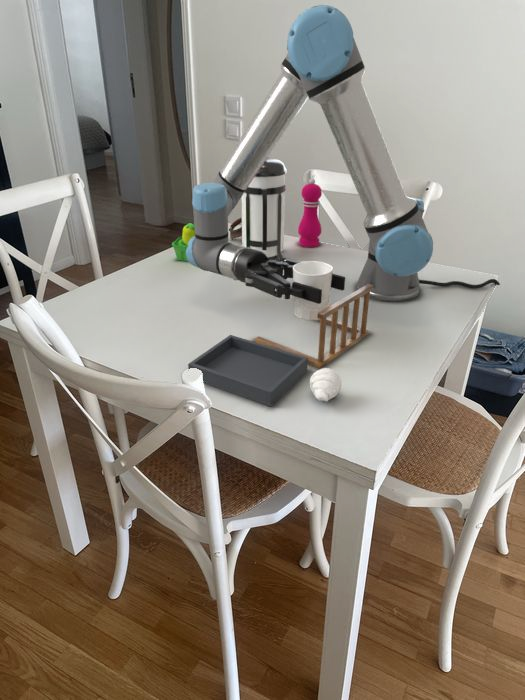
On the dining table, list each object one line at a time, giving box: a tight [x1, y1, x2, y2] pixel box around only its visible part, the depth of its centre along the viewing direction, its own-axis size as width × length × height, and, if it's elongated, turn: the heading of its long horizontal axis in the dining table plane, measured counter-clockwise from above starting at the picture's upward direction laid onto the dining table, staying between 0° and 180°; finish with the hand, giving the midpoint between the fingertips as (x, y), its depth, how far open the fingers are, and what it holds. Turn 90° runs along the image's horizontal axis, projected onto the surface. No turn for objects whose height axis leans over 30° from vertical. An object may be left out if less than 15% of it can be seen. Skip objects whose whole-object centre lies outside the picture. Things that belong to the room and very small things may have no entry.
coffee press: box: [241, 157, 288, 262], centre depth 149 cm, size 17×16×30 cm
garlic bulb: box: [309, 367, 342, 402], centre depth 91 cm, size 6×6×5 cm
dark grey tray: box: [187, 334, 309, 407], centre depth 100 cm, size 18×14×3 cm
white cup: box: [292, 260, 334, 321], centre depth 108 cm, size 8×8×10 cm
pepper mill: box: [297, 177, 323, 248], centre depth 163 cm, size 7×7×20 cm
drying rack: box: [253, 284, 373, 369], centre depth 110 cm, size 18×16×11 cm
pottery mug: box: [228, 217, 242, 241], centre depth 171 cm, size 12×10×8 cm
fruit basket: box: [171, 222, 195, 262], centre depth 153 cm, size 11×9×11 cm
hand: (332, 290), depth 105 cm, fingers closed on white cup, 8 cm apart
